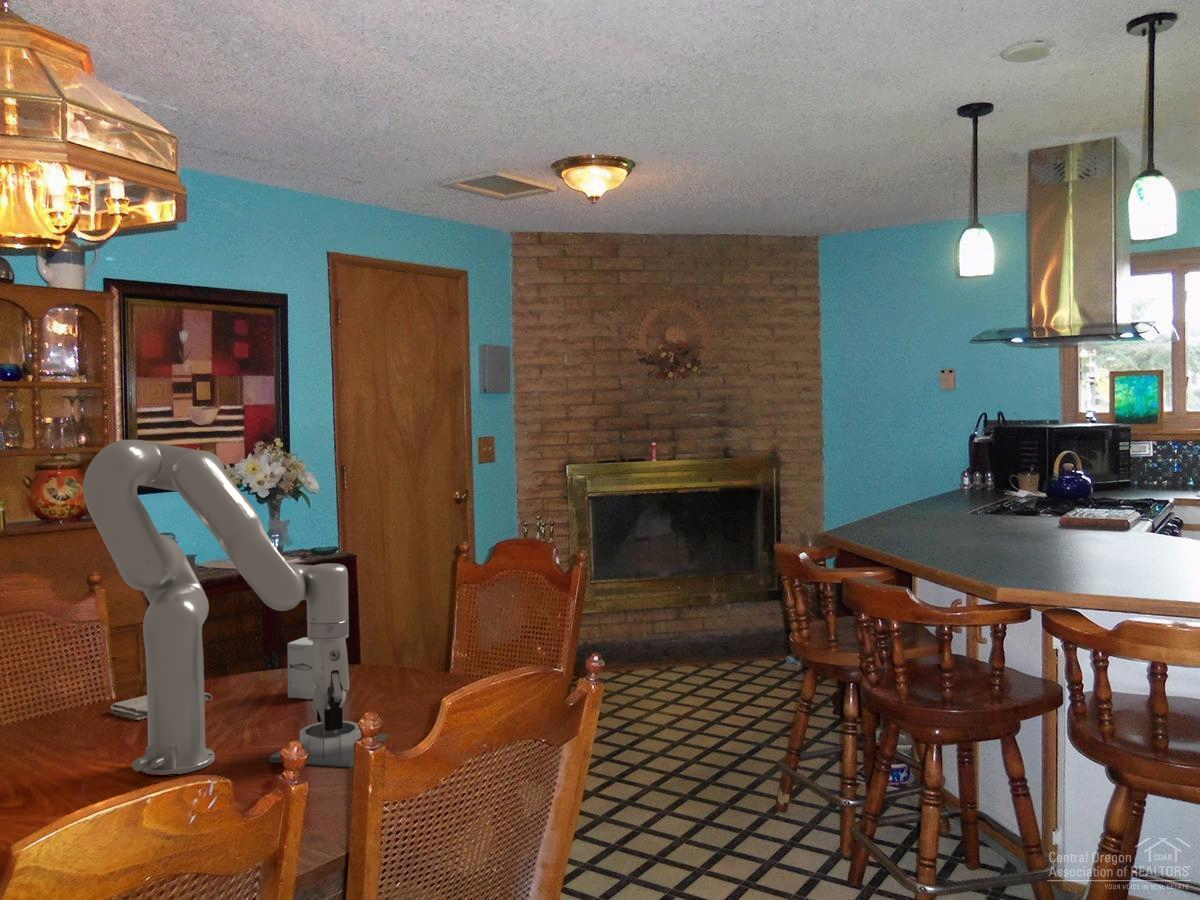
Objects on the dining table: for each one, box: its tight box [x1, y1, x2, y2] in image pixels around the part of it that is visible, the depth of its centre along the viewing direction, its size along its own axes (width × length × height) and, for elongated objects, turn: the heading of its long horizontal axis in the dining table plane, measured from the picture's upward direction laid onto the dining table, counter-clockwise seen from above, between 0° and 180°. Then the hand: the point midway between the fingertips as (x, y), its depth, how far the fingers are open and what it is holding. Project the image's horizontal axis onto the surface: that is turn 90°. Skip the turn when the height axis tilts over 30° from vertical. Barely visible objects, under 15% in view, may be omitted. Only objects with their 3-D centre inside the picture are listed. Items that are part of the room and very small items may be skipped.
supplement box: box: [287, 636, 316, 700], centre depth 221 cm, size 7×7×13 cm
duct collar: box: [268, 720, 389, 769], centre depth 182 cm, size 16×16×4 cm
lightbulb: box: [312, 684, 347, 737], centre depth 182 cm, size 6×6×11 cm
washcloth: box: [109, 692, 213, 720], centre depth 212 cm, size 12×18×3 cm, turn 148°
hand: (329, 724), depth 182 cm, fingers closed on lightbulb, 5 cm apart
